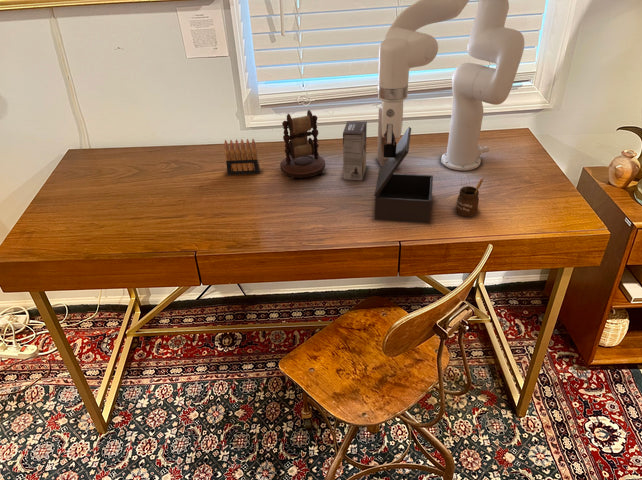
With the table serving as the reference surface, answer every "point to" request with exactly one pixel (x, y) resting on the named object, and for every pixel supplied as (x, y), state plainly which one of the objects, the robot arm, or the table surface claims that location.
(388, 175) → the lid
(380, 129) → the wooden block
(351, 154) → the coffee box
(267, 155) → the table surface
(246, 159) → the ammunition clip
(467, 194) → the utensil holder
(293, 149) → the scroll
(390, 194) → the black box
